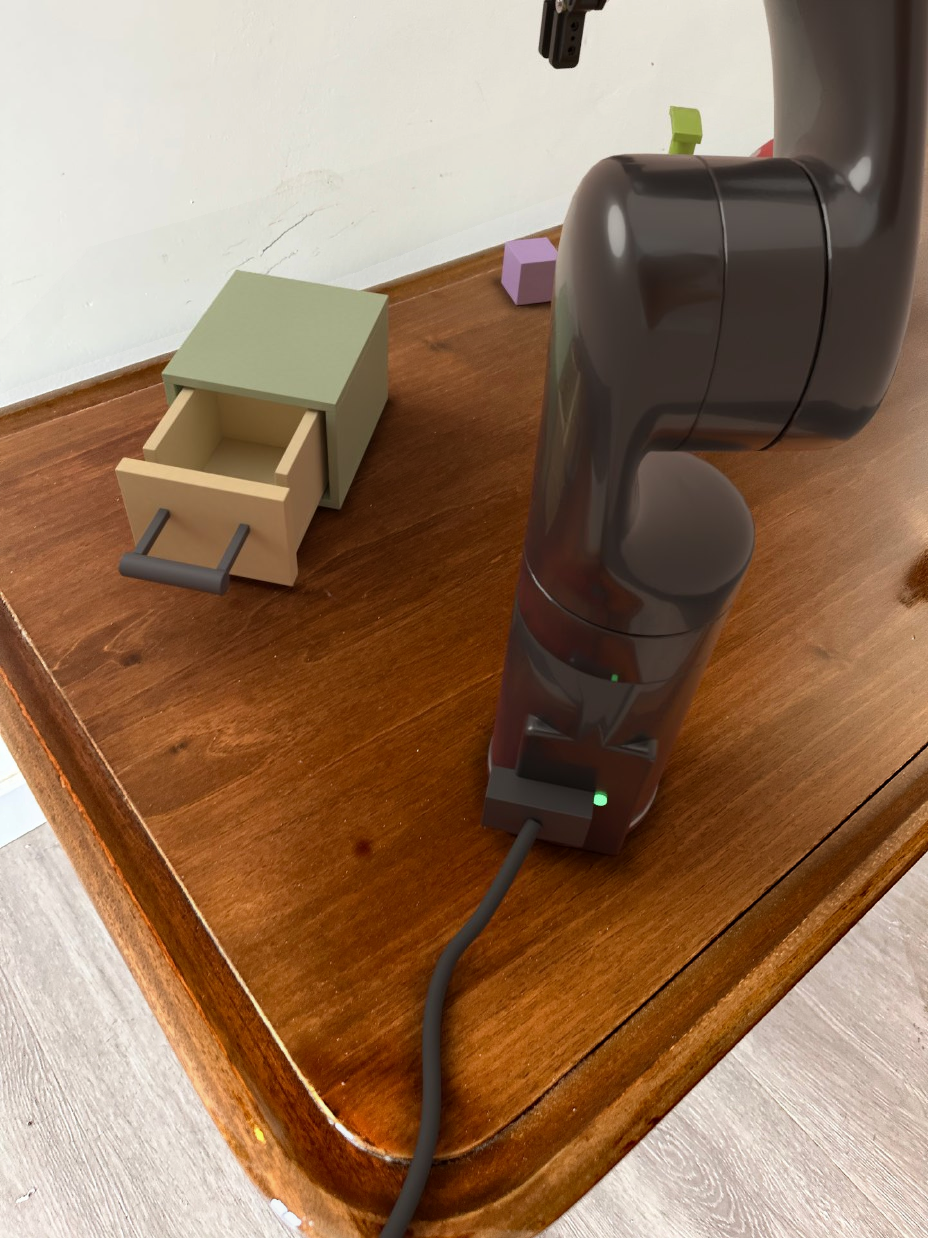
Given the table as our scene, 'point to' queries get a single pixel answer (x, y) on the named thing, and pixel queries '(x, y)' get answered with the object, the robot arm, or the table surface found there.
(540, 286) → the lilac toy cube
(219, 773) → the table surface
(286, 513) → the drawer
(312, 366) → the cabinet
